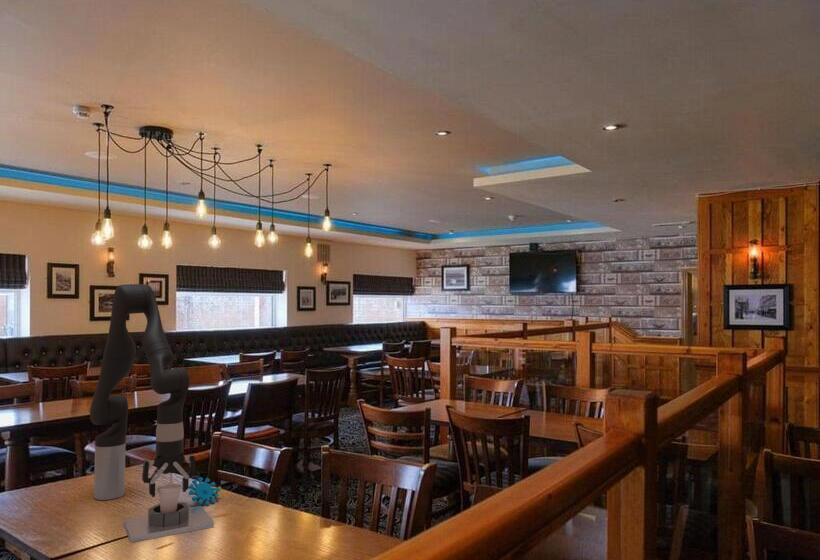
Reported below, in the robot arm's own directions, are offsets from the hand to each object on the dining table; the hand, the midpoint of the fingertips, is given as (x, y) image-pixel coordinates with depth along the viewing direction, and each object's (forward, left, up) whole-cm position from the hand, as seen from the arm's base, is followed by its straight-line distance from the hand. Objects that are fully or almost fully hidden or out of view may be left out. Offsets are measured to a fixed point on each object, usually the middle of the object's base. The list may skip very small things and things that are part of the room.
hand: (168, 493), depth 176 cm
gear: (-15, +14, -9) cm, 23 cm away
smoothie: (0, 0, -8) cm, 8 cm away
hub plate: (0, 0, -9) cm, 9 cm away
